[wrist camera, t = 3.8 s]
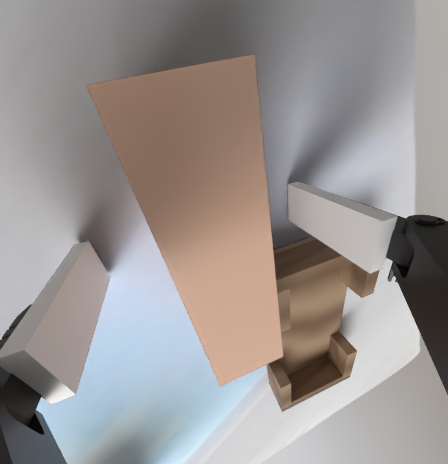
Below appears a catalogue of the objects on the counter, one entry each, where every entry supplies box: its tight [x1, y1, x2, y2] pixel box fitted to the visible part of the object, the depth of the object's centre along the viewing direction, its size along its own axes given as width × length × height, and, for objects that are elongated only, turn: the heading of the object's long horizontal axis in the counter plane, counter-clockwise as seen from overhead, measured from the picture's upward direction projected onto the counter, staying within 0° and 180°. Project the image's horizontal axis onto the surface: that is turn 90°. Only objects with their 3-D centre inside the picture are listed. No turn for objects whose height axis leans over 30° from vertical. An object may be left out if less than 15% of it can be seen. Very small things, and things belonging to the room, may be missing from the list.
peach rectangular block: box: [86, 54, 283, 386], centre depth 11 cm, size 14×4×6 cm, turn 11°
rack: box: [267, 236, 379, 412], centre depth 20 cm, size 20×9×3 cm, turn 10°
